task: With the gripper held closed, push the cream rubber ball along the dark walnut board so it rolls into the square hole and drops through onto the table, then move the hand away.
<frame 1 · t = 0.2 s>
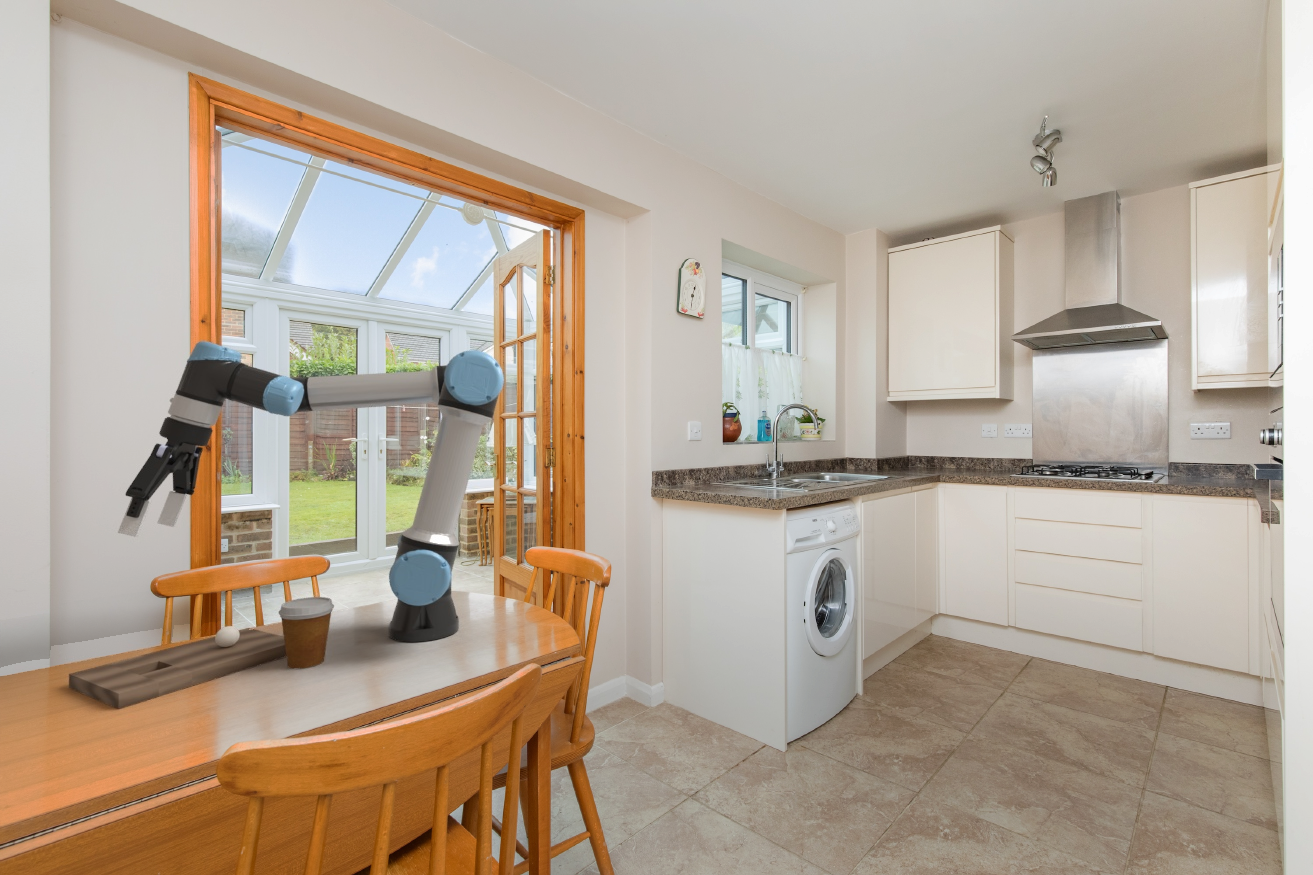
hand: (147, 529, 112), 27 cm above the table, tool tilted 20°, fingers open, 13 cm apart
hole board: (193, 668, 115), on the table
disposable coffee cup: (306, 663, 119), on the table
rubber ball: (227, 636, 121), point 4 cm above the table, touching hole board
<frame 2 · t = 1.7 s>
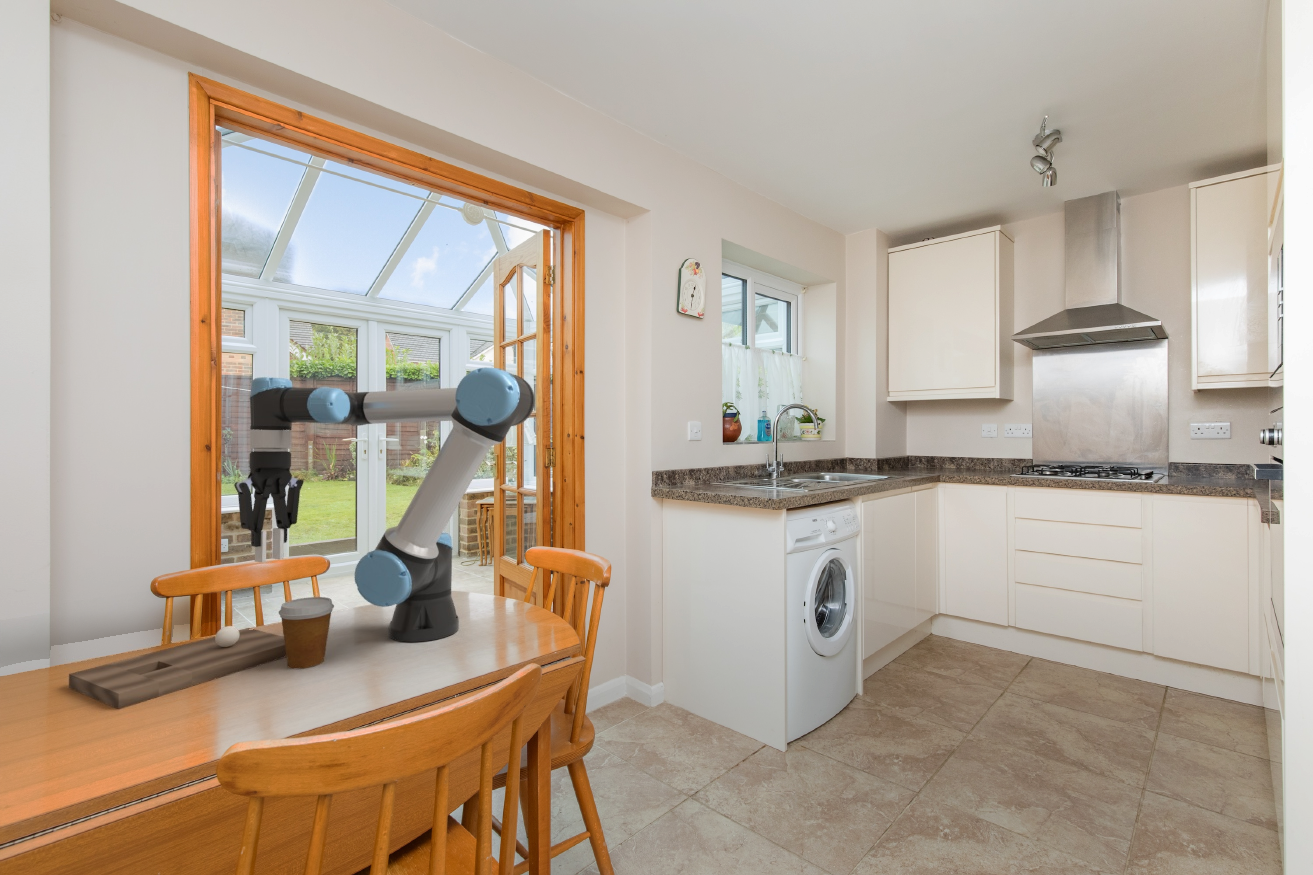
hand: (269, 559, 128), 19 cm above the table, tool pointing down, fingers open, 3 cm apart
nothing on the table moved.
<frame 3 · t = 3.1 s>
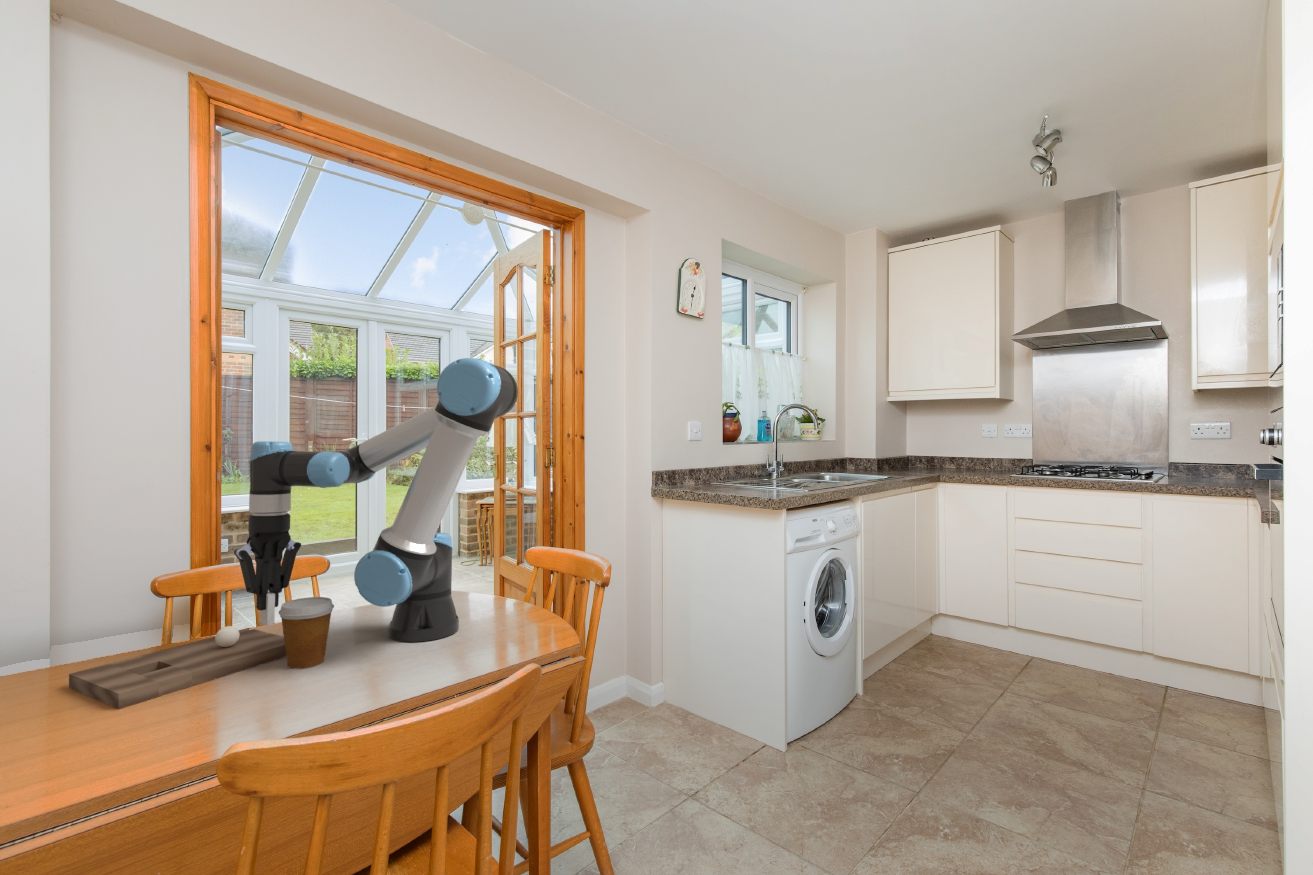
hand: (267, 623, 128), 5 cm above the table, tool pointing down, fingers closed
nothing on the table moved.
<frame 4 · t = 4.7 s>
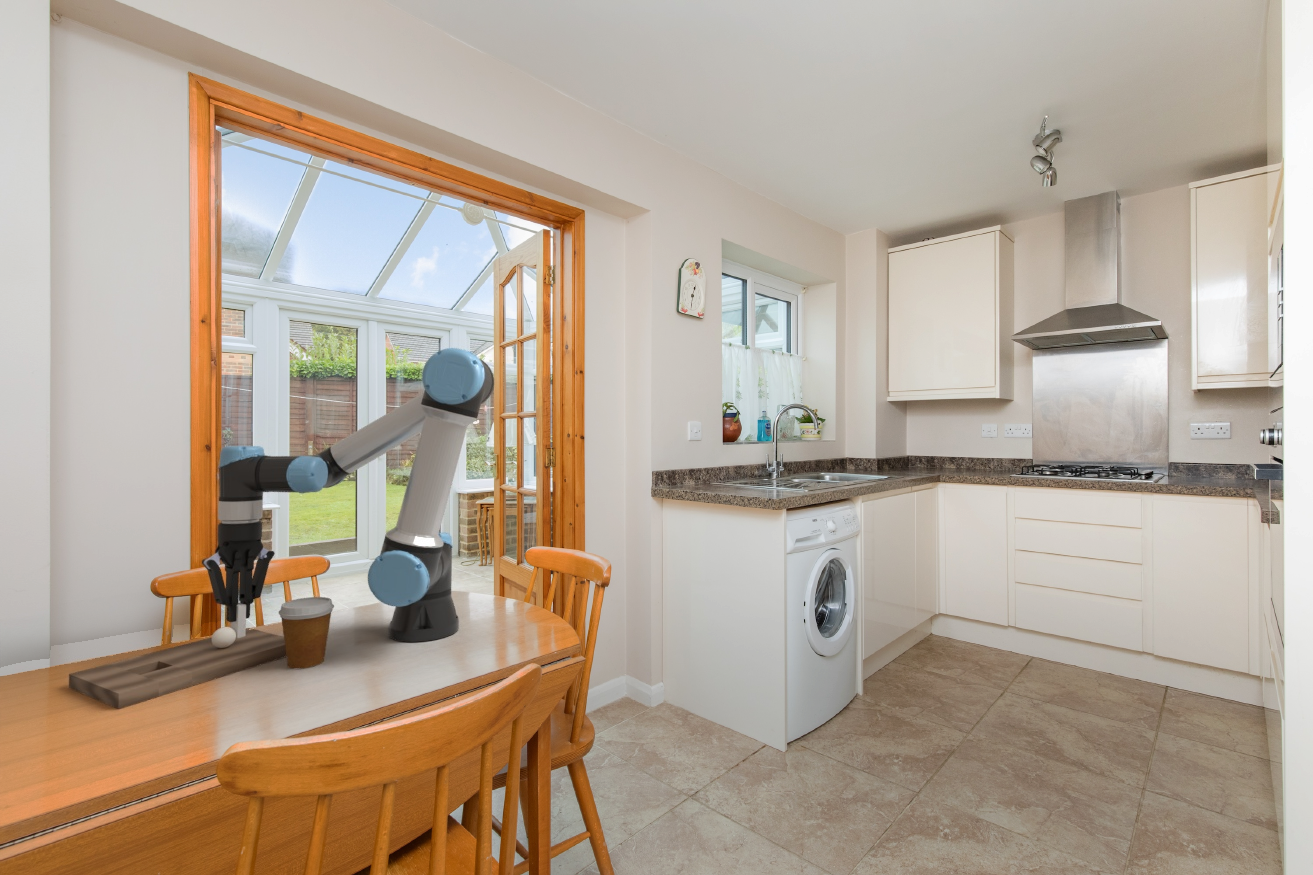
hand: (237, 635, 123), 4 cm above the table, tool pointing down, fingers closed
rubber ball: (223, 637, 120), point 4 cm above the table, tilted 16°, touching hole board
everything else where it was.
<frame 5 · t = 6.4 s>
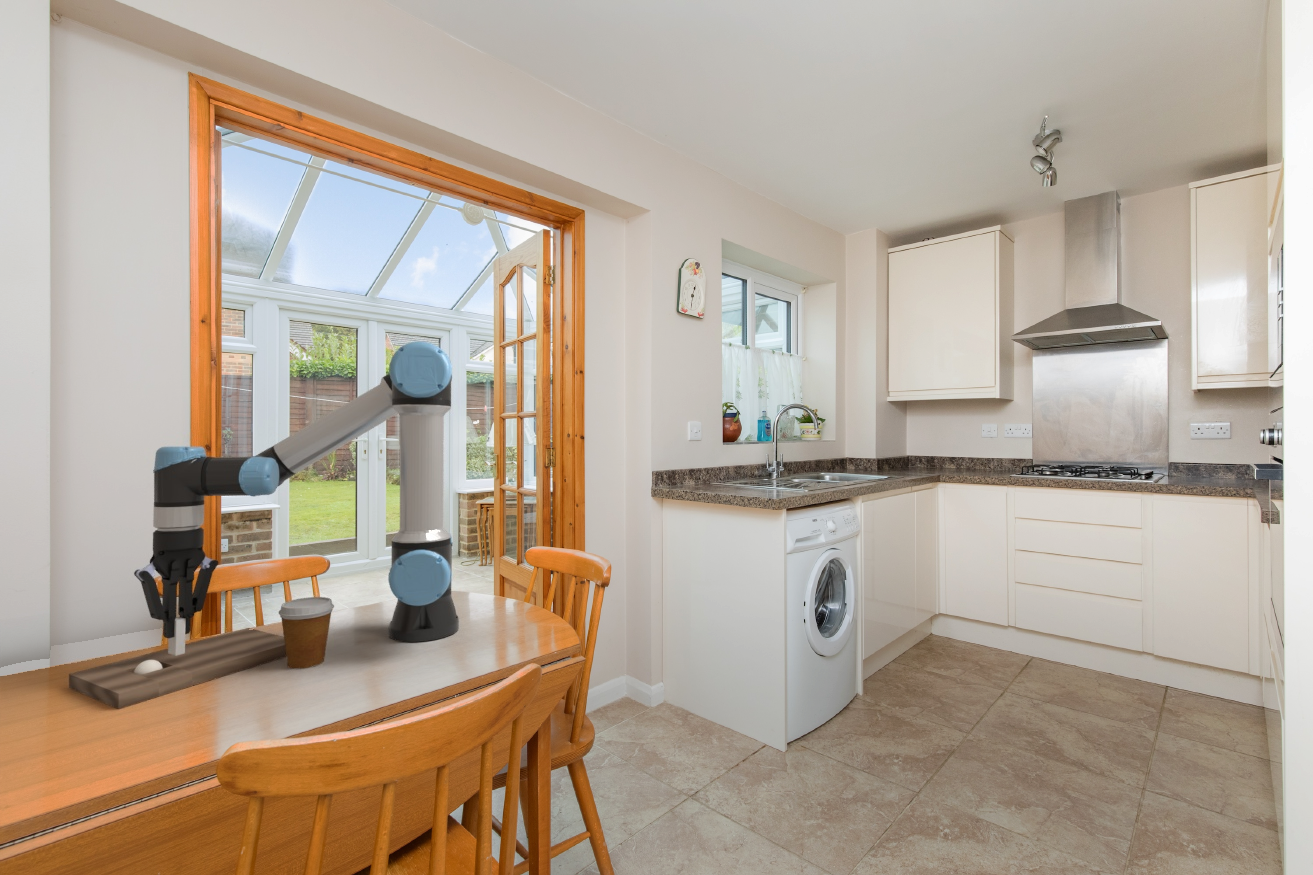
hand: (176, 652, 113), 4 cm above the table, tool pointing down, fingers closed
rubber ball: (148, 671, 109), point 2 cm above the table, tilted 45°
everything else where it was.
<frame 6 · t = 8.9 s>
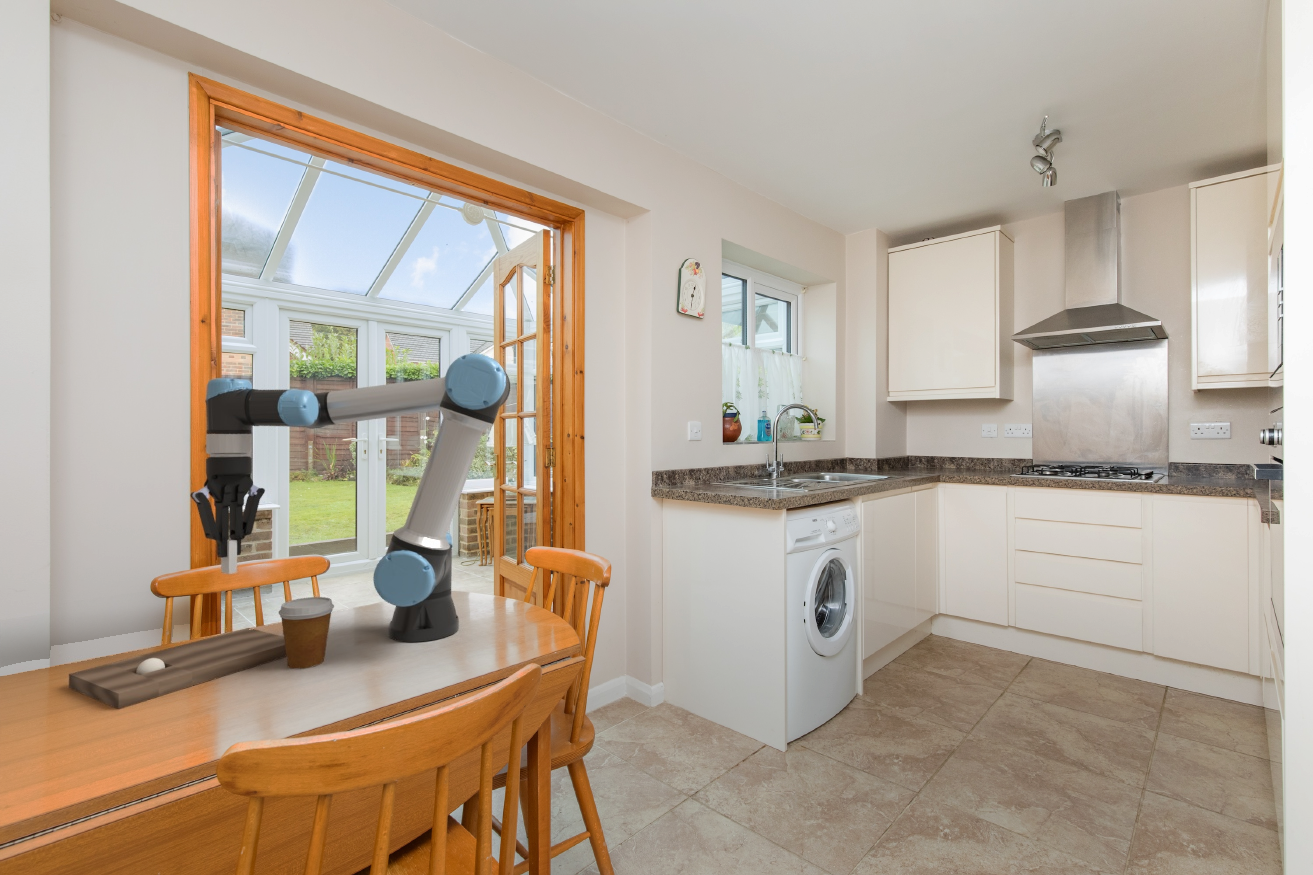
hand: (229, 572, 121), 17 cm above the table, tool pointing down, fingers closed
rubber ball: (150, 669, 110), point 2 cm above the table, tilted 20°
everything else where it was.
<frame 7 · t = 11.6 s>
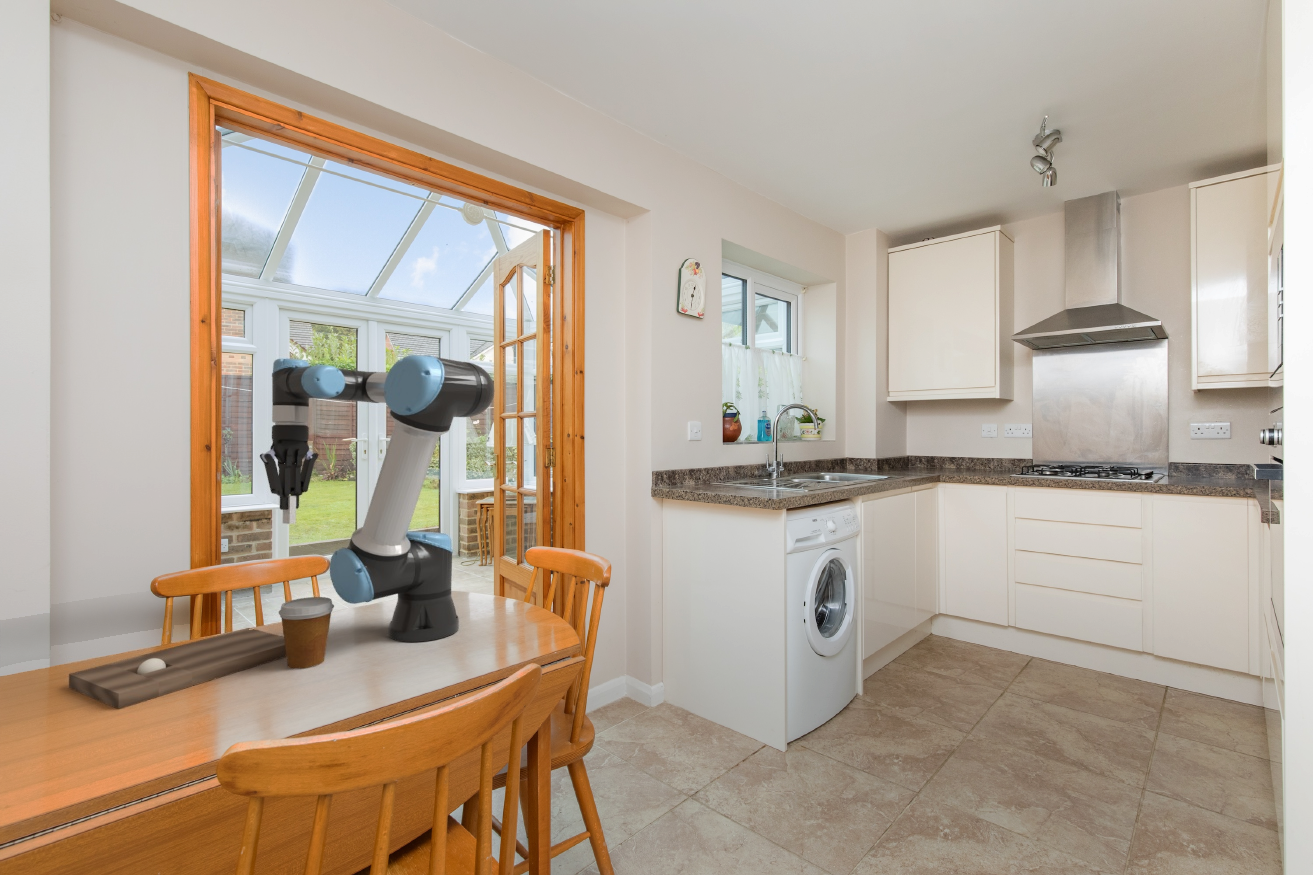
hand: (289, 523, 143), 24 cm above the table, tool pointing down, fingers closed
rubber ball: (151, 669, 109), point 2 cm above the table, tilted 27°
everything else where it was.
at the end: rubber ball 0.4 cm from the target spot on the hole board, point 2.0 cm above the hole board's base; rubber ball touching table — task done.
